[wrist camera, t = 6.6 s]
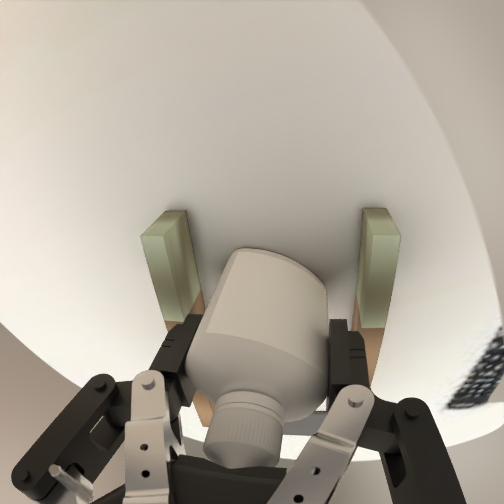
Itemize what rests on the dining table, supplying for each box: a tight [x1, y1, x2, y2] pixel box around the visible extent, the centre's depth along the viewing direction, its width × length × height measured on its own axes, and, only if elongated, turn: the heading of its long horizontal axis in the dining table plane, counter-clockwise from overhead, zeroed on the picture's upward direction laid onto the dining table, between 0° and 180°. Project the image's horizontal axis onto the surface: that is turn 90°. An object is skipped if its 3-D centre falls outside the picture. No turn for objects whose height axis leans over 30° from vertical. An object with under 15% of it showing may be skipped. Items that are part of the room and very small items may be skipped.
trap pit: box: [283, 411, 326, 436], centre depth 25 cm, size 4×12×1 cm, turn 95°
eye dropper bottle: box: [185, 248, 329, 469], centre depth 13 cm, size 4×6×12 cm
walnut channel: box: [140, 208, 401, 427], centre depth 18 cm, size 16×11×3 cm
